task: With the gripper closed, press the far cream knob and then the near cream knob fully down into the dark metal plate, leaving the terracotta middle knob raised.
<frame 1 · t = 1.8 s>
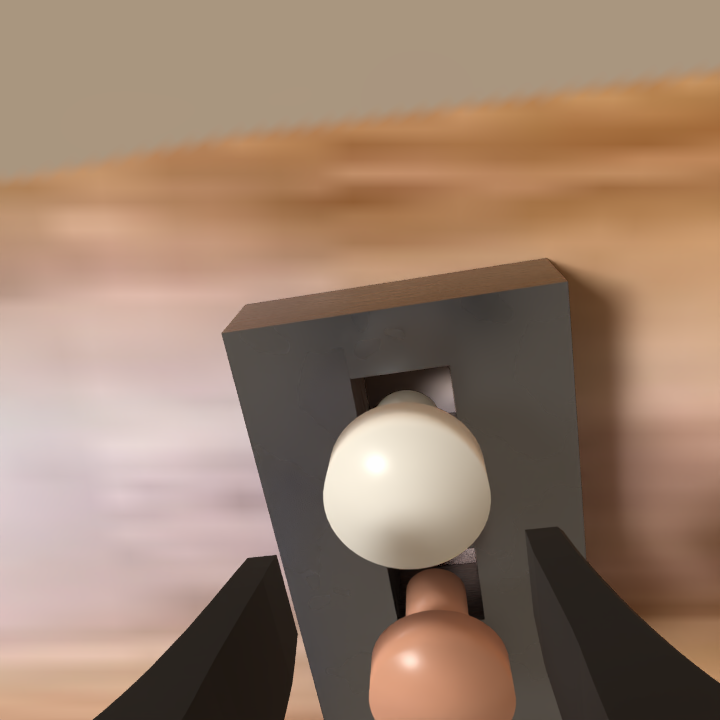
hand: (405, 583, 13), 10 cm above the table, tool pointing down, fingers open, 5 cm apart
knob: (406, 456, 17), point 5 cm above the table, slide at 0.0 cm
middle knob: (438, 641, 20), point 5 cm above the table, slide at 0.0 cm
knob plate: (432, 534, 25), on the table
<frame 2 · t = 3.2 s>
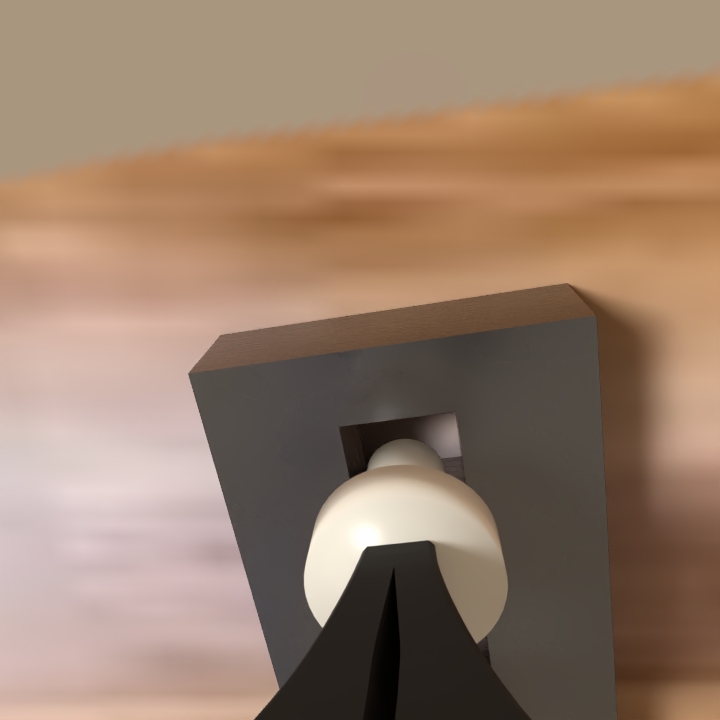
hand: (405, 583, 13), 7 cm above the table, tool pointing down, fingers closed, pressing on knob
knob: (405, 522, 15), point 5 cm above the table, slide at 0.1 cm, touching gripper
knob plate: (434, 590, 22), on the table
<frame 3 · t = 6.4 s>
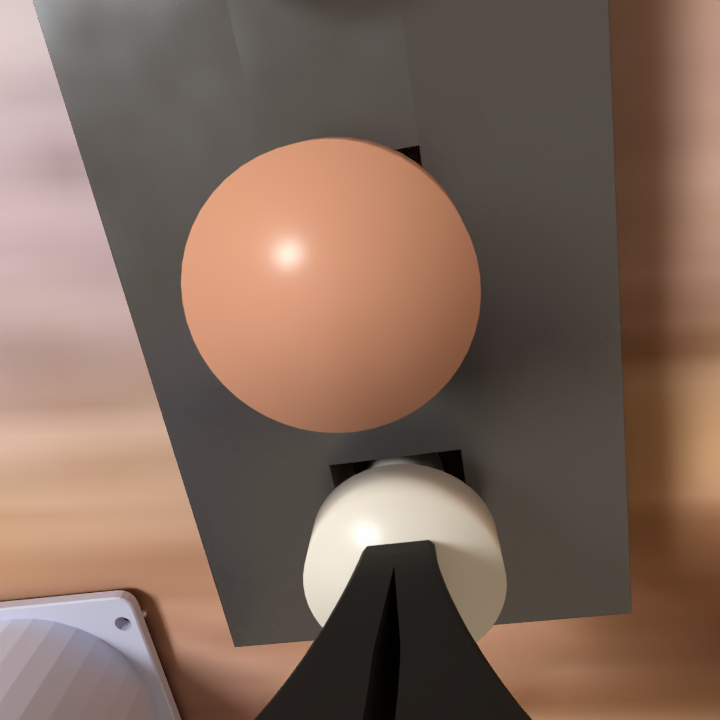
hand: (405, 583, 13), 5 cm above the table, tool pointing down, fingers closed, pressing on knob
middle knob: (343, 263, 11), point 5 cm above the table, slide at 0.0 cm
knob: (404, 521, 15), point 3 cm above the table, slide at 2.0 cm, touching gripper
knob plate: (364, 214, 16), on the table
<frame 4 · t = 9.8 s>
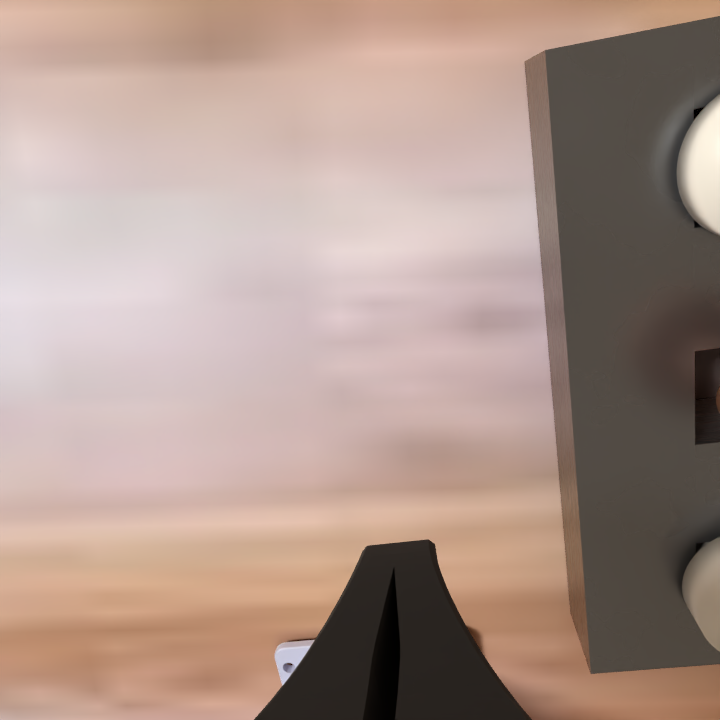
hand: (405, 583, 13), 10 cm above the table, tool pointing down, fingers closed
knob plate: (704, 357, 21), on the table
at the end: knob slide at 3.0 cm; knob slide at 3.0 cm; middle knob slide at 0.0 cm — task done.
